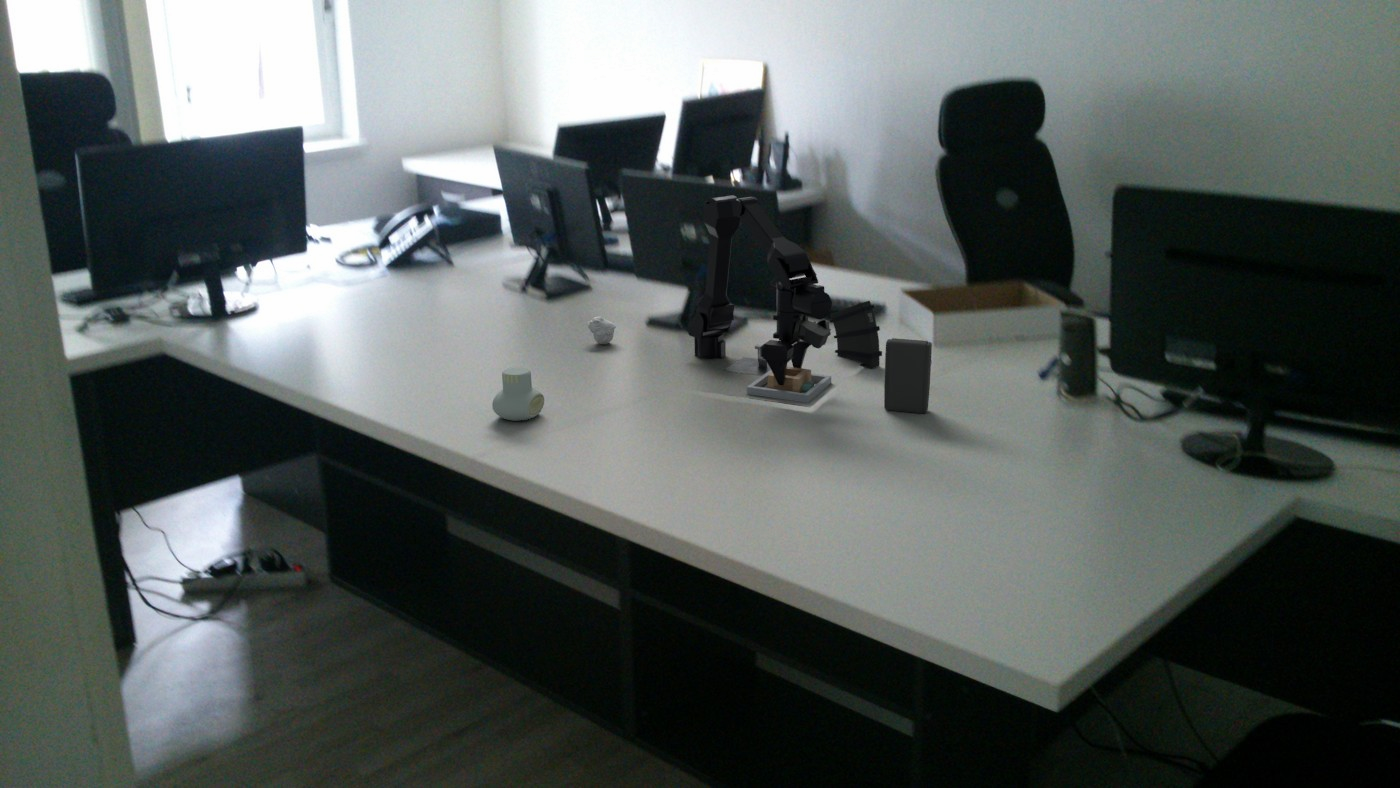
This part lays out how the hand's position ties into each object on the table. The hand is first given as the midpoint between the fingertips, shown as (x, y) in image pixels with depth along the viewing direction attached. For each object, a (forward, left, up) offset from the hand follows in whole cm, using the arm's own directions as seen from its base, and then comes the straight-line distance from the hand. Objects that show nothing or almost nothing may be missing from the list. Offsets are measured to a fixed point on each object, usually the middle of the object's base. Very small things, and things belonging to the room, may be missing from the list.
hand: (789, 378), depth 259 cm
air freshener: (-45, -37, -3) cm, 58 cm away
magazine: (+6, +26, -3) cm, 27 cm away
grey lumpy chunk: (-56, +15, -3) cm, 59 cm away
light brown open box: (0, 0, -2) cm, 2 cm away
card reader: (+27, -1, -3) cm, 27 cm away
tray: (0, 0, -3) cm, 3 cm away
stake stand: (-13, +11, -3) cm, 17 cm away
